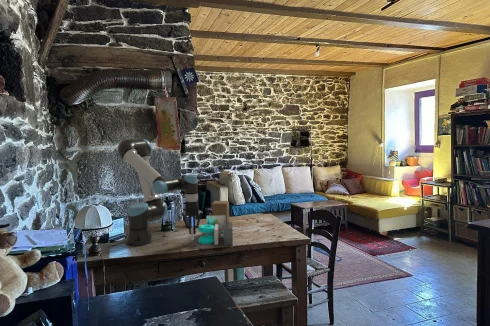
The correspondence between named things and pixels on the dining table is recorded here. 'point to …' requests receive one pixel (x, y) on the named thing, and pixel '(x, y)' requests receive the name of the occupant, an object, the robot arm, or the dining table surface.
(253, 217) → the dining table surface
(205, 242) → the donuts
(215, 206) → the wooden block
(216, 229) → the gauge plate
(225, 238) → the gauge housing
